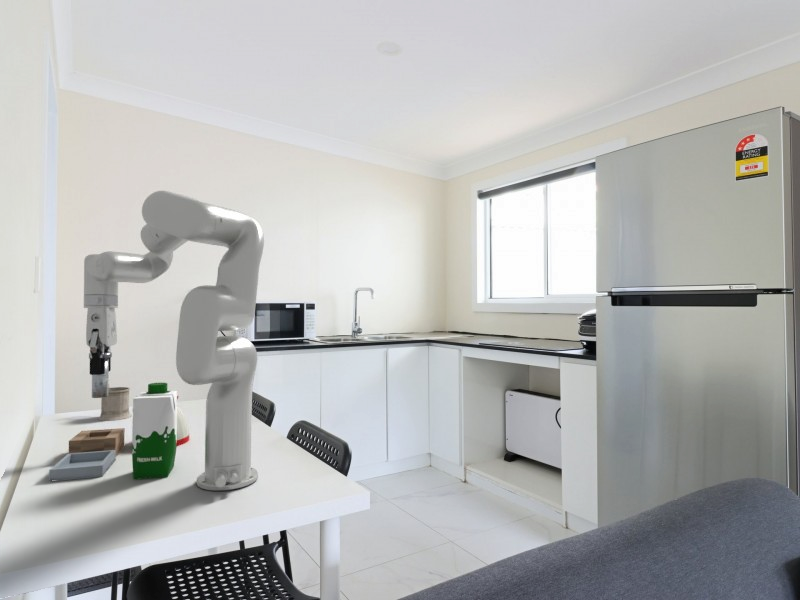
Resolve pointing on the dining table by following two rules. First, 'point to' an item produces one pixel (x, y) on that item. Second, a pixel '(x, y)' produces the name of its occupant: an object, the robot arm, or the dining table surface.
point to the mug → (115, 404)
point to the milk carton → (154, 432)
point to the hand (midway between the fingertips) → (100, 372)
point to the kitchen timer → (181, 428)
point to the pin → (101, 380)
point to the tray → (83, 465)
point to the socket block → (98, 441)
